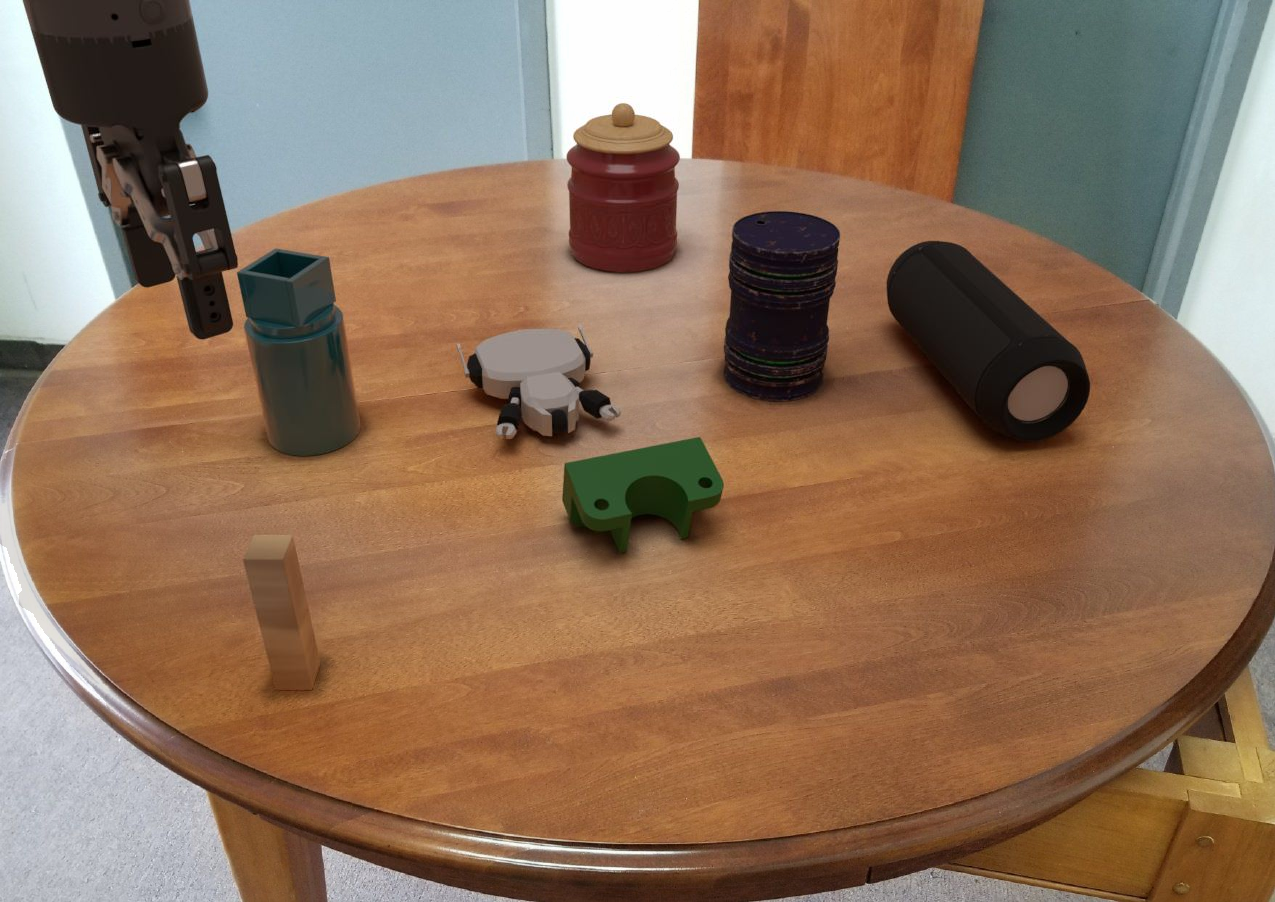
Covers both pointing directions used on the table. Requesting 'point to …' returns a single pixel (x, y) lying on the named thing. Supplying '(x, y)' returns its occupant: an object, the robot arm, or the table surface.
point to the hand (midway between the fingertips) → (184, 307)
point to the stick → (282, 611)
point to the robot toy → (537, 380)
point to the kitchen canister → (623, 192)
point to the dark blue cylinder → (779, 304)
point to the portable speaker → (987, 342)
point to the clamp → (641, 487)
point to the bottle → (299, 353)
